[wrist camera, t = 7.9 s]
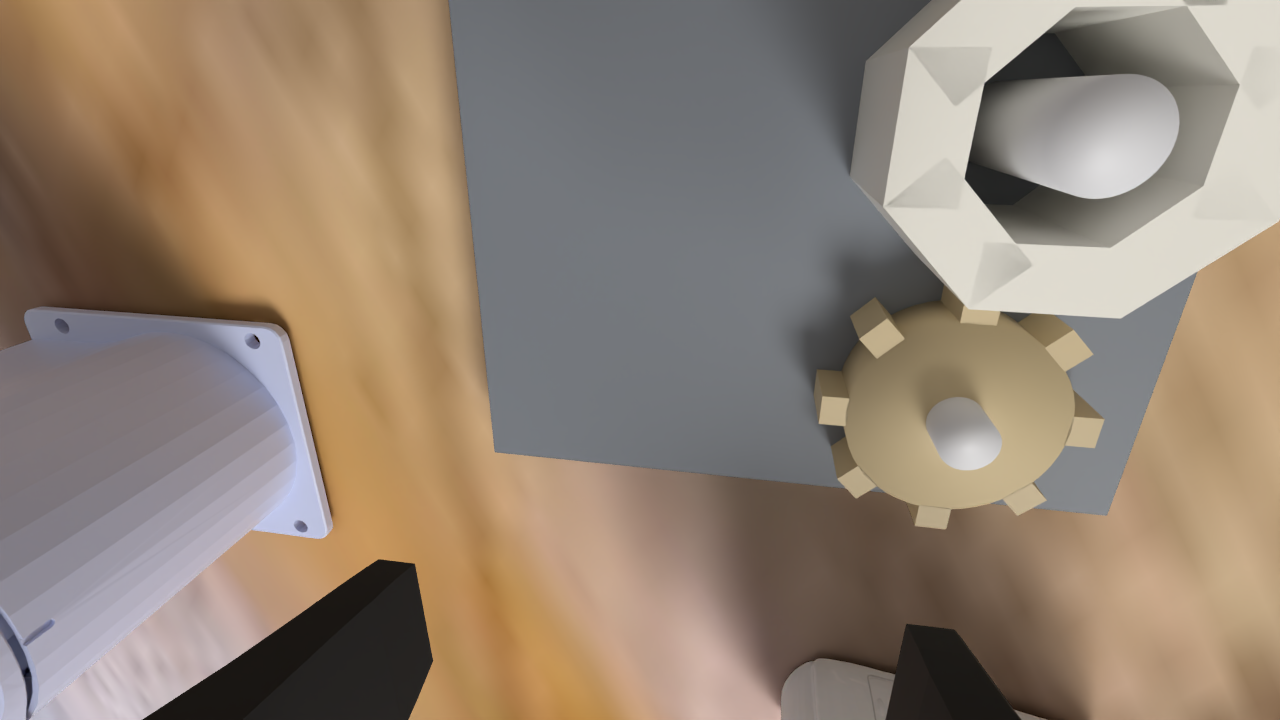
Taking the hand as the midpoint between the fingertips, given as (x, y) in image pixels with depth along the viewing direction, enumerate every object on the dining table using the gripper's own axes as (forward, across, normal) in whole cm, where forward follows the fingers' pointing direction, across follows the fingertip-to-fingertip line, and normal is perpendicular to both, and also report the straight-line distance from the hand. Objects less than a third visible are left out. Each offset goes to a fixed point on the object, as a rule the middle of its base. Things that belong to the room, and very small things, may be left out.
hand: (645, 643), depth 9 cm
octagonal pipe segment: (+8, -6, -7) cm, 12 cm away
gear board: (+9, -2, -7) cm, 12 cm away
